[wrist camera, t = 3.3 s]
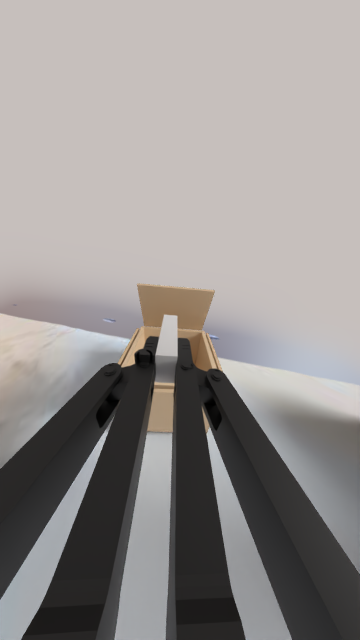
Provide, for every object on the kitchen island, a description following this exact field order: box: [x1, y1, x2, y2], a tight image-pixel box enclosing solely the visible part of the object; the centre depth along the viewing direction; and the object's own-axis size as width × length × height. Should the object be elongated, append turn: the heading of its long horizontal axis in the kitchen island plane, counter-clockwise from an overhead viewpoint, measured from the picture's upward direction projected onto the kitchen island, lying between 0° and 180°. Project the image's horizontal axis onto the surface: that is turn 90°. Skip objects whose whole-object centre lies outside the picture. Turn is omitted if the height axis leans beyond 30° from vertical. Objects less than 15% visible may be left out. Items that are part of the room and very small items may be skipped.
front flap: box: [137, 284, 215, 330], centre depth 29 cm, size 15×1×12 cm, turn 90°
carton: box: [117, 326, 223, 433], centre depth 28 cm, size 18×17×13 cm
